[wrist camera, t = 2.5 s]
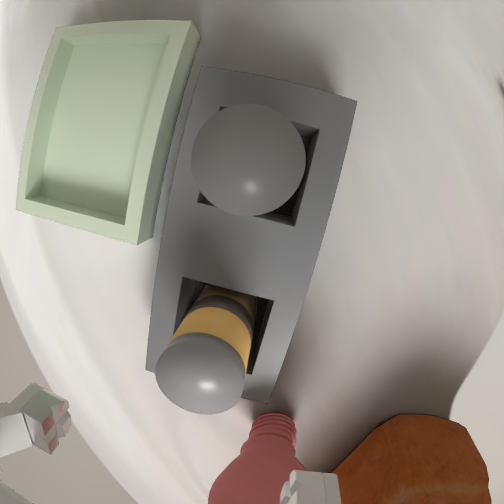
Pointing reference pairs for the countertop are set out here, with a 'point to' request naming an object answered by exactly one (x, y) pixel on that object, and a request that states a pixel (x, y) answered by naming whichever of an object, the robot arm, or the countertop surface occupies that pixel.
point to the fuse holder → (250, 222)
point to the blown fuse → (209, 352)
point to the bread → (415, 465)
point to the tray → (105, 125)
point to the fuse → (248, 159)
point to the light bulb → (260, 464)
